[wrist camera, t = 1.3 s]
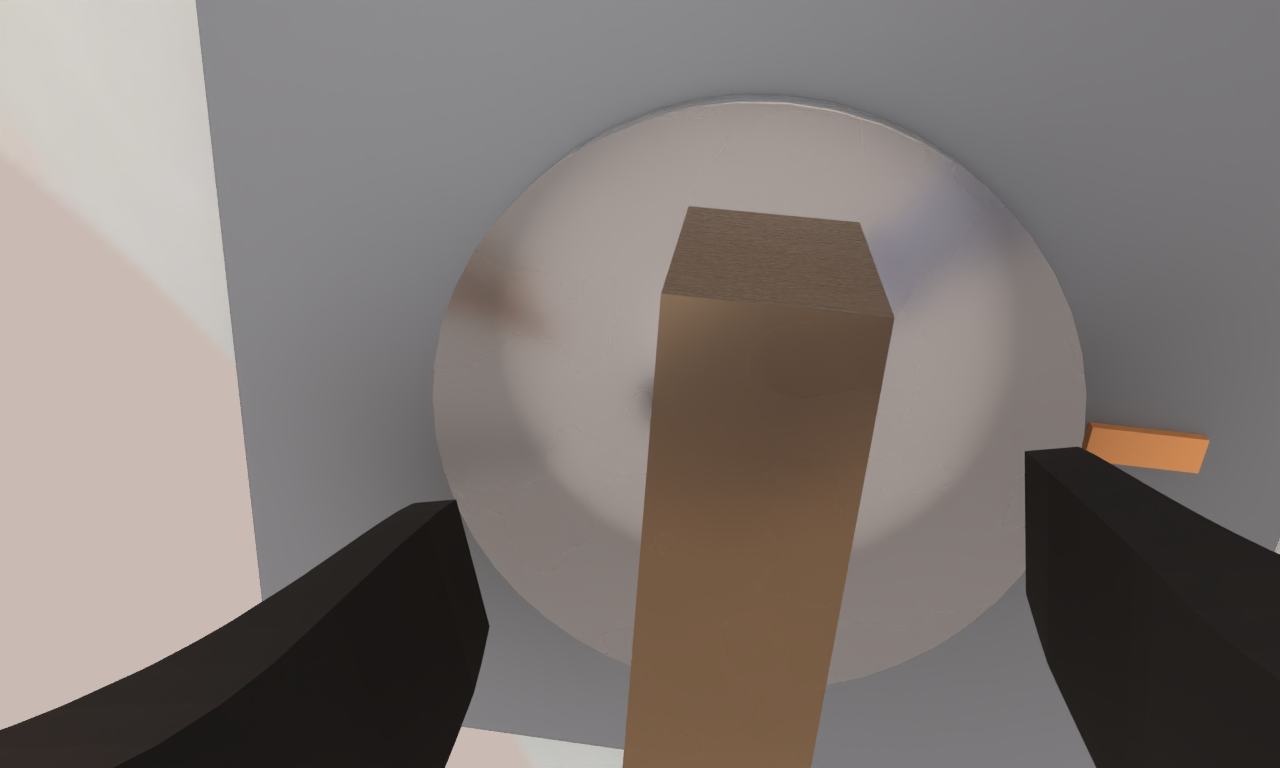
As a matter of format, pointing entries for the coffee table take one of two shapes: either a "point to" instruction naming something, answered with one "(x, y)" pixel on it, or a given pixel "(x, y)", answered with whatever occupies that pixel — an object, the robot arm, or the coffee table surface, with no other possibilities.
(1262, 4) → the dial base
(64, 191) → the coffee table surface
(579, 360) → the dial
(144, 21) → the coffee table surface
